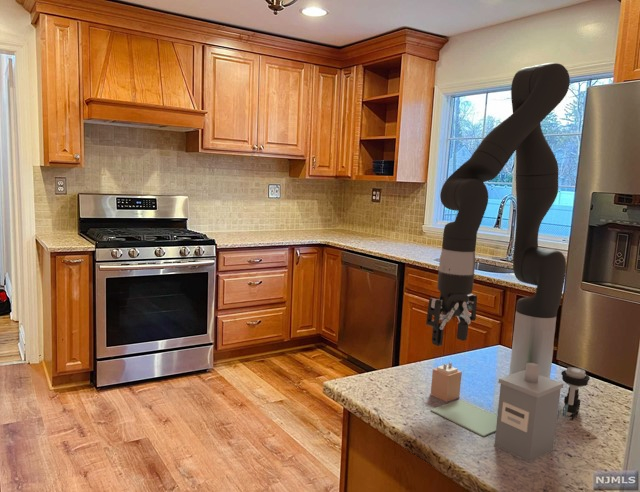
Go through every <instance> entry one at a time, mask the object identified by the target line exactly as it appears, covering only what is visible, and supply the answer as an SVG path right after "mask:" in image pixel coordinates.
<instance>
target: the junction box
mask: <svg viewBox="0 0 640 492" xmlns="http://www.w3.org/2000/svg"><path fill="white" fill-rule="evenodd" d="M498 383H499V384H500V386H499V387H500V389H499V397H498V405H497V406H498V408H497V414H496V415H497V425H496V432H495V433H494V434H495V437H494V444H493V446H496V447H497V448H499V449H501V450H502V451H505V452H507V453H508V454H509V453H510V454H511V455H512V456H513V455H514V456H516V457H517V458H520V459H521V460H523V461H524V462H525V461H526V462H528V463H532V462H533V461H535V460H537V459H539V458H541V457H543V456H545V455H546V454H548V453H550V452H552V451H554V449H555V447H554V446H555V437H556V430H557V422H558V421H557V420H558V415H559V404H560V396H561V390H562V389H563V388H564V385H565V384H564V383H565V382H560V381H558V380H555V379H553V378H551V377H550V378H547V377H544V376H541V375H539V365H538V364H535V363H527V364H526V370H523V371H520V372H517V373H514V374H511V375H509V374H508V375H504V376H502V377H499V378H498Z"/></svg>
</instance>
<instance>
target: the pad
mask: <svg viewBox="0 0 640 492" xmlns="http://www.w3.org/2000/svg"><path fill="white" fill-rule="evenodd" d="M430 412H432V413H435V414H437V415H438V416H440V417H442V418H445V419H447V420H449V421H450V422H453V423H455V424H457V425H458V426H461V427H462V428H465V429H467V430H469V431H471V432H473V433H475V434H477V435H479V436H481V437H482V438H483V437H484V438H485V437H487V436H489V435H491V434H495V433H496V425H497V415H498V414H495V413H493V412H491V411H488V410H486V409H483V408H481V407H479V406H477V405H474V404H472V403H470V402H468V401H466V400H463V399H462V398H460V399H458V400H454V401H451V402H448V403H446V404H442V405H439V406H437V407H433V408H432V409H430Z"/></svg>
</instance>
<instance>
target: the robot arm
mask: <svg viewBox="0 0 640 492" xmlns="http://www.w3.org/2000/svg"><path fill="white" fill-rule="evenodd" d="M570 82H571V79H570V75H569V71H568V69H567V68H566V67H565V66H564V65H563V64H560V63H558V62H548V63H547V62H546V63H542V64H536V65H532V66H531V65H530V66H526V67H523V68H520V69H518V71H517V72H516V73H515V74H514V76H513V78H512V81H511V87H510V95H511V96H510V97H511V98H510V99H511V106H512V107H511V109H512V113H511V115H510V116H508V117H507V118H506V119H504V120H503V121H502V122H501V123H499V124H498V125H496V126H495V127H494V128H493V129H492V130H491V131H490V132H488V134H487V135H486V136H485V137H484V138H483V139H482V141H481V142H480V143H479V145H478V146H477V148H476V149H475V150H474V152H473V153H472V155H471V156H470V158H468V160H466V161H465V162H464V163H462V164H461V165H460V166H459V167H458V168H457V169H455V171H454V172H453V173H452V174H451V175H449V176H448V177H447V179H446V180H445V182H444V183H443V185H442V187H441V190H440V196H439V197H440V201H441V204H442V205H443V206H444V207H445V208H446V209H448V210H451V211H457V215H456V218H455V220H454V221H449V222H447V224H445V225H444V228H443V235H442V245H441V251H440V252H441V254H440V257H439V263H438V264H439V265H438V273H437V276H438V277H437V286H436V288H437V290H438V291H439V294H440V295H439V298H433V297H429V300H428V305H427V313H426V321H425V324H426V325H427V326H429V327H431V328H432V334H431V335H432V336H431V342H432V344H433V345H434V346H437V347H441V346H443V341H444V339H443V338H444V331H445V330H444V328H445V326H446V324H447V322H448V323H449V322H450V321H451V319H452V318H455V317H457V319H458V323H457V330H456V339H458V340H459V341H461V342H464V341H467V339H468V334H469V333H468V330H469V325H470V324H471V322H472V321H476V319H477V307H478V296H477V295H476V294H473V292H474V290H473V288H474V279H475V270H476V269H475V268H476V247H477V239H478V238H477V237H478V236H477V235H478V231H479V229H480V226H481V224H482V222H483V218H484V216H485V214H486V210H487V207H488V203H489V192H488V191H489V190H488V188H487V186H486V184H485V183H486V182H489V181H492V180H494V179H495V178H497V176H498V175H499V174H500V173H501V172H502V171H503V169H504V167H505V166H506V165H507V163H508V162H509V160H510V158H512V156H513V154H514V153H515V195H516V201H515V202H516V210H515V211H516V215H515V216H516V218H515V219H516V221H515V222H516V223H515V236H514V246H513V256H512V268H513V274H514V276H515V278H516V279H517V280H518V282H521V283H524V284H529V285H532V286H536V291H535V293H534V295H532V296H527V297H522V298H519V299H517V301H516V305H515V306H516V308H515V317H514V325H513V326H514V328H513V335H512V336H513V337H512V346H511V353H510V355H511V356H510V362H509V364H510V365H509V371H508V375H511V374H514V373H517V372H520V371H523V370H526V364H527V363H535V364H538V365H539V375H541V376H544V377H547V378H550V379H551V373H552V362H553V355H554V346H555V345H554V343H555V342H554V341H555V333H556V326H557V325H556V324H557V323H556V322H557V315H558V310H559V307H560V305H561V302H562V296H563V290H564V283H565V280H566V279H565V278H566V274H567V261H566V257H565V255H564V253H562V252H561V251H559V250H556V249H550V248H544V247H539V243H538V242H539V231H540V227H541V223H542V222H543V220H544V219H545V217H546V215H547V213H548V212H549V211H550V209H551V207H552V205H554V202H555V201H556V199H557V196H558V193H559V164H558V161H557V158H556V156H555V153H554V152H553V150H552V148H551V146H550V144H549V143H548V140H546V137H545V136H544V133H543V130H542V125H541V123H542V121H543V120H545V119H546V118H547V116H548V115H550V113H552V112H553V111H554V110H555V108H556V107H558V105H559V104H560V103H561V102H562V101H563V100H564V98H565V97H566V95H567V94H568V91H569V88H570V84H571V83H570ZM433 317H434V318H433ZM440 320H441V321H440Z"/></svg>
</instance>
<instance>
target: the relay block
mask: <svg viewBox="0 0 640 492" xmlns="http://www.w3.org/2000/svg"><path fill="white" fill-rule="evenodd" d="M452 365H453V363H452V362H448V364H447V363H443V365H440V366H436V367H435V368H433V369H432V375H431V387H430V395H431V396H433V397H435V398H438V399H439V400H442V401H444V402H446V403H447V402H450V401H453V400H456V399H459V398H460V396H461V395H460V394H461V385H462V383H461V382H462V373H463V371H460V370H459V369H458V368H457V367H454V366H452Z"/></svg>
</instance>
